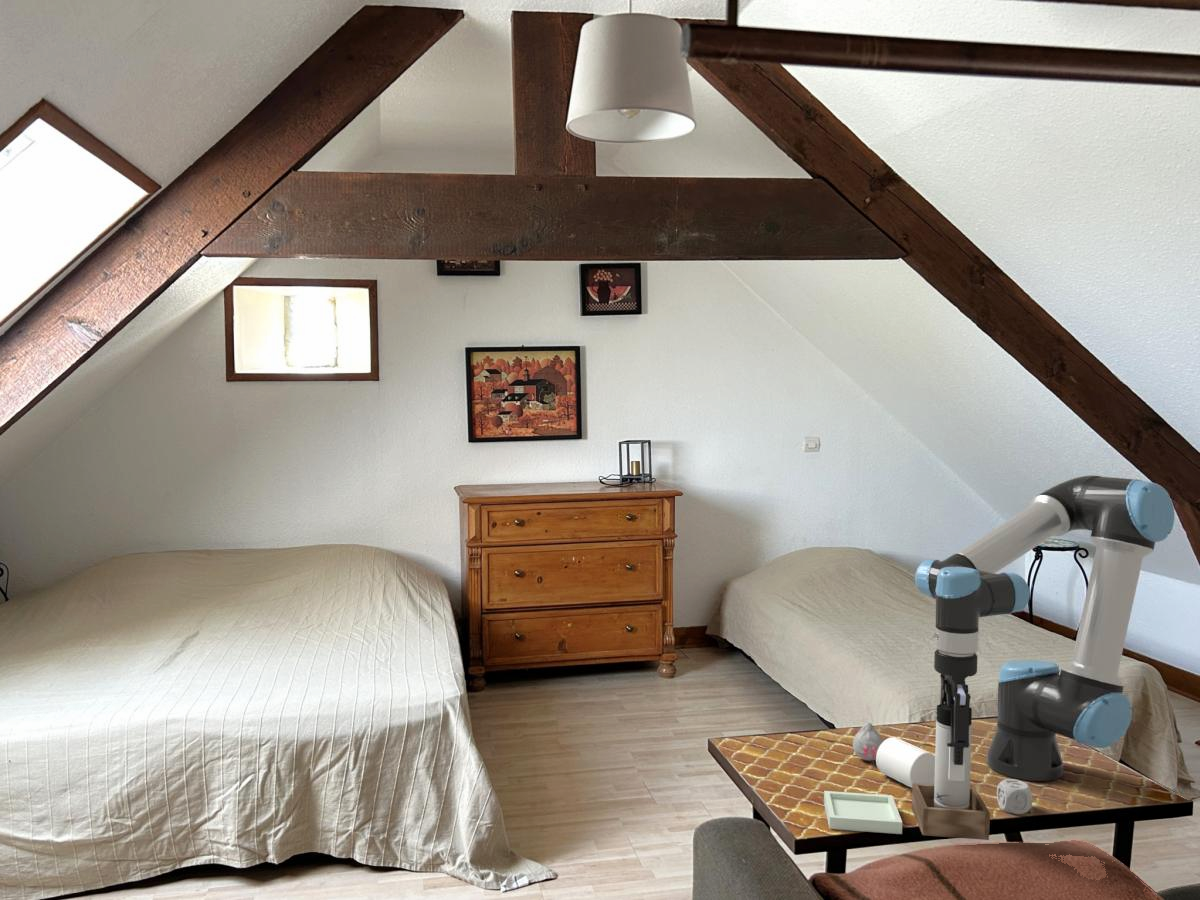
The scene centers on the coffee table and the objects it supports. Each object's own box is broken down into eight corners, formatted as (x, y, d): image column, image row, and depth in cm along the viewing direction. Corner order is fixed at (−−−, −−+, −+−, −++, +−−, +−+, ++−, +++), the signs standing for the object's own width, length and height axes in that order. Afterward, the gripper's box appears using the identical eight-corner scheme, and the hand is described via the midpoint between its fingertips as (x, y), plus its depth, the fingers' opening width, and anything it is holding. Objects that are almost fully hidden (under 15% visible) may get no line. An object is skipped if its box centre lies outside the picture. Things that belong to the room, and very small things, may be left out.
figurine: (853, 764, 216) (855, 728, 215) (850, 753, 222) (852, 717, 222) (885, 767, 215) (886, 730, 214) (881, 755, 221) (882, 719, 221)
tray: (891, 806, 195) (892, 795, 194) (901, 834, 183) (902, 822, 183) (823, 801, 196) (824, 790, 196) (829, 828, 184) (829, 817, 184)
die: (1021, 803, 197) (1022, 779, 196) (1031, 814, 192) (1033, 789, 191) (995, 803, 197) (997, 778, 197) (1005, 814, 192) (1006, 789, 192)
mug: (909, 795, 200) (911, 756, 200) (874, 777, 209) (876, 739, 209) (953, 784, 206) (954, 746, 205) (917, 767, 215) (918, 731, 214)
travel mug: (937, 815, 184) (939, 709, 183) (931, 800, 191) (934, 697, 189) (972, 817, 183) (975, 711, 182) (965, 802, 190) (968, 699, 188)
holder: (973, 812, 192) (974, 787, 192) (988, 839, 181) (990, 813, 180) (911, 808, 194) (912, 783, 193) (922, 835, 182) (923, 808, 182)
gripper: (925, 637, 195) (922, 752, 197) (945, 665, 176) (942, 792, 178) (965, 638, 194) (961, 754, 196) (990, 667, 175) (985, 795, 177)
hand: (952, 772), depth 187 cm, fingers closed on travel mug, 6 cm apart
